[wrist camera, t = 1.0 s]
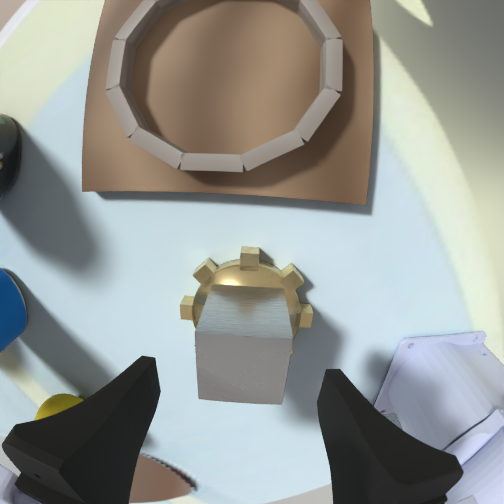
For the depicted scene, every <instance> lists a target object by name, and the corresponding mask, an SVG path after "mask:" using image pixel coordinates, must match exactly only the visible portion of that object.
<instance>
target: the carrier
mask: <svg viewBox="0 0 504 504" xmlns="http://www.w3.org/2000/svg"><path fill="white" fill-rule="evenodd" d="M373 103H374V57H373V32H372V18H371V6H370V0H105V2H104V6H103V10H102V14H101V17H100V22H99V26H98V30H97V35H96V39H95V44H94V49H93V55H92V60H91V66H90V73H89V79H88V87H87V95H86V104H85V115H84V129H83V149H82V192H89V191H163V192H198V193H222V194H241V195H257V196H272V197H285V198H297V199H309V200H320V201H330V202H340V203H349V204H358V205H366V200H367V191H368V182H369V171H370V160H371V146H372V129H373Z"/></svg>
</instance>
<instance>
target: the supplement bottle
mask: <svg viewBox="0 0 504 504" xmlns="http://www.w3.org/2000/svg"><path fill="white" fill-rule="evenodd" d="M20 157H21V143H20V136H19V132H18V129H17V127H16V125H15V123H14V121H13V120H12V119H11V118H10V117H9V116H7V115H5V114H0V198H2V197H3V196H4V195H5V194H6V193H7V192H8V191H9V190H10V188H11V187H12V185H13V183H14V181H15V179H16V176H17V173H18V169H19V164H20Z"/></svg>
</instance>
